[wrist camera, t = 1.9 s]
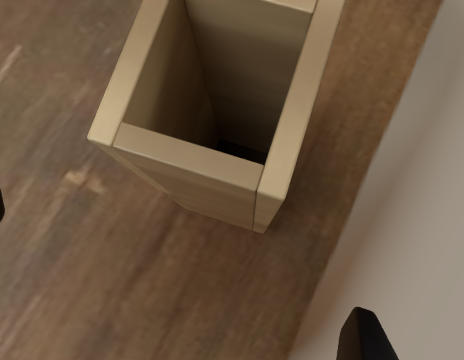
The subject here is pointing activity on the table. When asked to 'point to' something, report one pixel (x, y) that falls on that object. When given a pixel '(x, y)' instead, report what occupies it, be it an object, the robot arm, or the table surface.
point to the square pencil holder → (217, 100)
